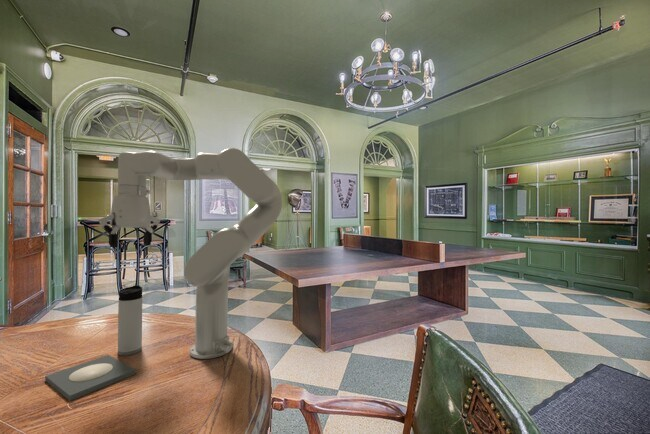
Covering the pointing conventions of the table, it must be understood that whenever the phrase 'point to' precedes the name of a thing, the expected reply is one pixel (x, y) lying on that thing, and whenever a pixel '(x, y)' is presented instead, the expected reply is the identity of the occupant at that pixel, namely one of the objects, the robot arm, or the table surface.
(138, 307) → the travel mug
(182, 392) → the table surface
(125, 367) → the mat
